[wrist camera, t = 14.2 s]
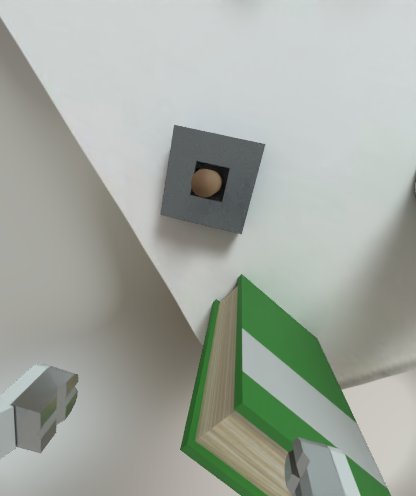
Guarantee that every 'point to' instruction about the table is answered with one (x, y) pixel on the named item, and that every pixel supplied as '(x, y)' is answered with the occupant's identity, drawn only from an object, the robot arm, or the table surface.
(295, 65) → the table surface
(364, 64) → the table surface
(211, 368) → the hardback book
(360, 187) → the table surface
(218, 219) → the socket
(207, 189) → the round peg
